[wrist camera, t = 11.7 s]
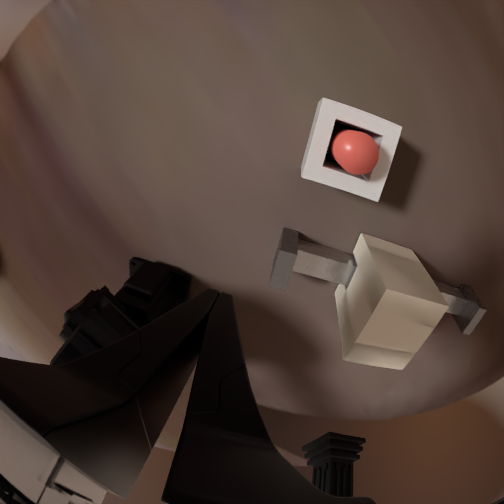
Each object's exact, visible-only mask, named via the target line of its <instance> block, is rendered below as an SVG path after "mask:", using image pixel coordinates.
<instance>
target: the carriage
mask: <svg viewBox="0 0 504 504" xmlns="http://www.w3.org/2000/svg"><path fill="white" fill-rule="evenodd" d="M353 254H354V256H355V259H356V262H357V265H358V266H357V268H356V271H355V273H354V275H353V277H352V279H351V281H350V283H349V286H346V285H342V284H339V285H338V287H337V289H336V291H335V298H336V305H337V312H338V320H339V328H340V337H341V346H342V356H343V360H344V361H349V362H355V363H360V364H366V365H372V366H379V367H385V368H392V369H400V370H403V368H404V367H405V366H406V365H407V364H408V362H409V361H410V360H411V359H412V357H413V356H414V355H415V354H416V352H417V351H418V350H419V349H420V347H421V346H422V345H423V343H424V342H425V341H426V339H427V338H428V337H429V335H430V334H431V332H432V331H433V330H434V328H435V327H436V325H437V324H438V322H439V321H440V320H441V318H442V317H443V315H444V314H445V312H446V310H447V309H448V307H449V305H448V304H447V302H446V300H445V299H444V297H443V296H442V294H441V292H440V291H439V289H438V288H437V286H436V285H435V283H434V281H433V280H432V278H431V277H430V275H429V274H428V272H427V271H426V269H425V268H424V266H423V265H422V264H421V262H420V261H419V259H418V258H417V256H416V255H415V254H414V252H413V251H412V250H411V249H408V248H405V247H402V246H400V245H397V244H394V243H391V242H388V241H385V240H382V239H379V238H376V237H373V236H370V235H367V234H364V233H361V234H360V236H359V239H358V241H357V244H356V246H355V249H354V251H353Z"/></svg>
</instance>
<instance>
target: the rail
mask: <svg viewBox="0 0 504 504" xmlns="http://www.w3.org/2000/svg"><path fill="white" fill-rule="evenodd" d="M357 266H358V265H357V262H356V259H355V256H354V255H352V254H348V253H345V252H342V251H338V250H335V249H331V248H328V247H325V246H321V245H318V244H314V243H311V242H307V241H304V240H300V239H298V231H294V230H291V229H287V228H283V231H282V235H281V238H280V241H279V245H278V248H277V251H276V255H275V258H274V262H273V267H272V272H271V277H270V282H269V287H272V288H276V289H280V290H283V291H285V289H286V286H287V284H288V281H289V278H290V275H291V272H292V271H295V272H299V273H302V274H306V275H310V276H313V277H317V278H320V279H324V280H328V281H331V282H335V283H339V284H342V285H346V286H349V283H350V281H351V279H352V277H353V275H354V273H355V271H356V268H357ZM433 281H434V283H435V285H436V286H437V288H438V289H439V291H440V292H441V294H442V296H443V297H444V299H445V300H446V302H447V304H448V305H449V307H448V309H447V310H446V312H448V313H451V314H452V316H453V317H454V319H455V321H456V323H457V325H458V326H459V328H460V330H461V332H462V333H463V334H467V335H470V334H471V332H472V331H473V330H474V328H475V327H476V325H477V324H478V323H479V321H480V320H481V318H482V317H483V315H484V314H485V312H486V311H487V310H486V308H485V307H484V306H483V304H482V303H481V301H480V300H479V298H478V297H477V296H476V294H475V293H474V292H473V290H472V289H471V288H470V286H467V285H464V284H462V286H461V287H460V289H459V288H456V287H453V286H450V285H447V284H444V283H441V282H438V281H435V280H433Z"/></svg>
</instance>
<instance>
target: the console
mask: <svg viewBox="0 0 504 504" xmlns="http://www.w3.org/2000/svg"><path fill="white" fill-rule="evenodd" d="M335 122H338V123H341V124H344V125H347V126H350V127H353V128H356V129H358V130H361V131H364V132H367V134H368V135H369V136H371V137H372V138H373V139H374V141H375V142H376V144H377V146H378V149H379V159H378V162H377V164H376V166H375V167H374V168H373V169H372V170H371V171H370V172H368V173H366V174H362V175H355V174H351V173H349V172H347V171H346V170H345V169H343V168H342V166H341V165H339V164H336V163H333V162H330V161H326V160H324V159H325V155H326V152H327V148H328V145H329V141H330V138H331V134H332V131H333V127H334V123H335ZM401 130H402V127H401V126H399V125H396V124H394V123H392V122H389V121H387V120H385V119H382V118H380V117H377V116H375V115H372V114H370V113H367V112H364V111H362V110H359V109H356V108H353V107H351V106H348V105H345V104H342V103H339V102H336V101H332V100H329V99H326V98H322V99H321V100H320V101H319V102H318V106H317V109H316V113H315V117H314V121H313V125H312V128H311V132H310V136H309V139H308V143H307V147H306V151H305V154H304V158H303V161H302V165H301V177H302V178H305V179H309V180H312V181H316V182H319V183H322V184H325V185H329V186H332V187H335V188H338V189H341V190H344V191H347V192H350V193H353V194H356V195H359V196H362V197H365V198H368V199H370V200H373V201H376V202H378V201H379V198H380V195H381V193H382V190H383V187H384V184H385V181H386V178H387V175H388V172H389V169H390V166H391V163H392V160H393V157H394V154H395V150H396V147H397V144H398V140H399V137H400V133H401Z"/></svg>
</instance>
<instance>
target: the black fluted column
mask: <svg viewBox="0 0 504 504" xmlns="http://www.w3.org/2000/svg"><path fill="white" fill-rule="evenodd" d="M365 442H366V440H365V438H360V437H354V436H348V435H343V434H338V433H333V432H328V433H326V434H325V435H323V436H321V437H319V438H318V439H316V440H314V441H312V442H310V443H308V444H307V445H305V446H303V447H302V450H303V451H308V453H306V454H305V458H309V459H311V460H309V461H307V465H310V466H313V478H312V484H313V485H314V486H315V487H317V488H318V489H320V490H321V491H322V492H325V493H327V494H329V495H332V496H336V497H353V462H354V461H356V460H358V459H360V455H356V454H357V453H359V452H361V451H362V450H363V447H362V446H360V445H361V444H363V443H365Z"/></svg>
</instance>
